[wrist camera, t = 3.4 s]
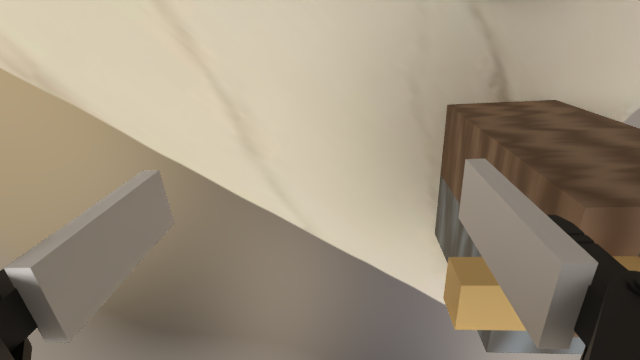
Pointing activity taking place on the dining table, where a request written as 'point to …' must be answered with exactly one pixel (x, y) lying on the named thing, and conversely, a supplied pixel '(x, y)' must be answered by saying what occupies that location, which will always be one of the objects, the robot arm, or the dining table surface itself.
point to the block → (487, 295)
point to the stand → (544, 180)
